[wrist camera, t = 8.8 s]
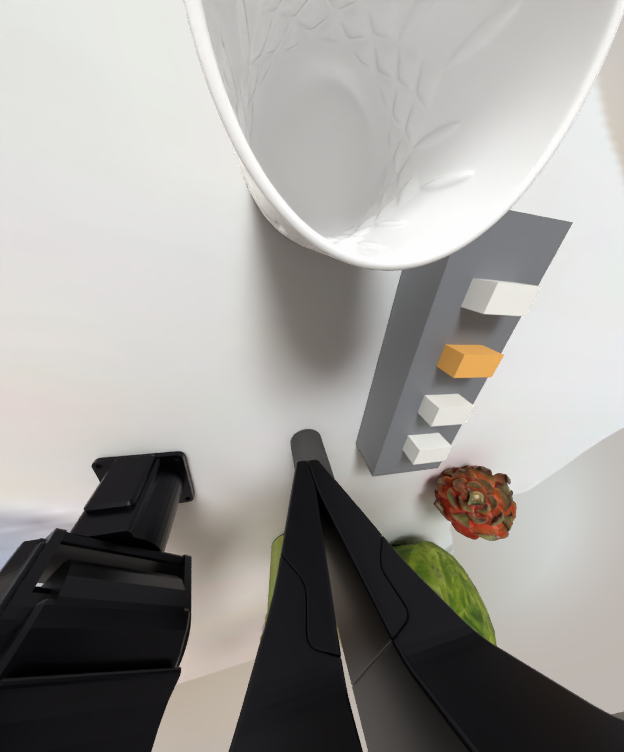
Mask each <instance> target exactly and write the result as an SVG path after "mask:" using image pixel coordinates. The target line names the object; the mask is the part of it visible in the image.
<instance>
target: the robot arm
mask: <svg viewBox="0 0 624 752" xmlns="http://www.w3.org/2000/svg"><path fill="white" fill-rule="evenodd" d="M177 457H178V458H177ZM92 468H93V470H94V472H95V474H96V475H97V477H98V479H99V481H100V484H99V485H98V487H97V488H96V490H95V491H94V493H93V495H92V496H91V498H90V499H89V501H88V502H87V504H86V505H85V507H84V512H83V513H82V515H81V516H80V518H79V519H78V521H77V522H76V524H75V526H74V527H73V529H72V530H71V532H70V533H68V532H67V530H64V529H59V528H56V529H55V530H54V531H53V532H52V533H51V534H50V535H49V536H48V537H47V538H45V539H43V538H40V539H38V540H31V541H25V542H23V543H22V544H21V545H20V546H19V547H18V548H17V550H16V551H15V552H14V553H13V555H12V556H11V557H10V559H9V560H8V561H7V562H6V564H5V565H4V566H3V568H2V569H1V570H0V752H151V751H152V747H153V744H154V741H155V737H156V734H157V731H158V728H159V725H160V722H161V719H162V717H163V714H164V711H165V708H166V705H167V703H168V700H169V698H170V696H171V694H172V692H173V690H174V687H175V685H176V683H177V681H178V679H179V676H180V673H181V667H179V665H180V663H181V660H182V658H183V655H184V652H185V649H186V645H187V641H188V637H189V632H190V626H191V556H188V555H183V556H180V555H176V554H171V553H166V552H164V551H165V548H166V544H167V541H168V538H169V534H170V531H171V528H172V524H173V521H174V517H175V514H176V511H177V507H178V504H179V503H183V502H190V501H192V500H193V498H194V491H193V487H192V483H191V479H190V475H189V471H188V467H187V463H186V459H185V455H184V453H182V452H165V453H153V454H142V455H130V456H118V457H106V458H98V459H96V460H95V461H94V462H93V464H92ZM37 583H44V584H43V585H42V587H36V584H37ZM336 624H337V625H336ZM337 628H338V632H339V636H340V640H341V644H342V648H343V652H344V655H345V660H346V664H347V668H348V672H349V676H350V680H351V684H352V685H353V686H352V688H353V692H354V696H355V700H356V704H357V708H358V712H359V716H360V720H361V724H362V728H363V732H364V736H365V740H366V744H367V748H368V752H624V712H621V713H616V714H609V713H607V712H605V711H603V710H601V709H599V708H598V707H596V706H594V705H592V704H590V703H589V702H587V701H586V700H584V699H582V698H581V697H579V696H577V695H576V694H574V693H573V692H571V691H569V690H568V689H566V688H564V687H563V686H561V685H559V684H558V683H556V682H554V681H553V680H551V679H550V678H548V677H546V676H544V675H543V674H541V673H540V672H538V671H536V670H535V669H533V668H531V667H530V666H528V665H526V664H525V663H523V662H522V661H520V660H518V659H517V658H515V657H513V656H512V655H510V654H508V653H507V652H505V651H503V650H502V649H500V648H498V647H497V646H495V645H494V644H492V643H491V642H489V641H488V640H487V639H485V638H484V637H483V636H481V635H480V634H479V633H478V632H476V631H475V630H474V629H473V628H472V627H470V626H469V625H468V624H467V623H466V622H465V621H464V620H463V619H462V618H461V617H460V616H459V615H458V614H457V613H456V612H455V611H454V610H453V609H452V608H451V607H450V606H449V605H448V604H447V603H446V602H445V601H444V600H443V599H442V598H441V597H440V596H439V595H438V594H437V593H436V592H435V591H434V590H433V589H432V588H431V587H430V586H429V585H428V584H427V583H426V582H425V581H424V580H423V579H422V578H421V577H420V576H419V575H418V574H417V573H416V572H415V571H414V570H413V569H412V568H411V567H410V566H409V565H408V564H407V563H406V562H405V561H404V560H403V558H402V557H401V556H400V555H399V554H398V553H397V552H396V551H395V549H394V548H393V547H392V546H391V545H390V544H389V542H388V541H387V540H386V539H385V538H384V537H383V536H382V535H381V533H380V532H379V531H378V530H377V528H376V527H375V526H374V525H373V524H372V523H371V521H370V520H369V519H368V518H367V517H366V515H365V514H364V513H363V512H362V511H361V510H360V508H359V507H358V506H357V505H356V504H355V503H354V501H353V500H352V499H351V498H350V497H349V495H348V494H347V493H346V492H345V491H344V490H343V488H342V487H341V486H340V485H339V484H338V482H337V481H336V480H335V479H334V478H333V477H332V475H331V474H330V473H329V472H328V471H327V470H326V468H325V467H324V466H323V465H322V464H321V462H320V461H319V460H318V459H309V460H298V461H297V462H296V467H295V473H294V479H293V485H292V490H291V496H290V502H289V508H288V514H287V520H286V526H285V531H284V537H283V543H282V549H281V556H280V560H279V566H278V572H277V577H276V582H275V587H274V592H273V596H272V600H271V604H270V608H269V612H268V616H267V620H266V623H265V627H264V630H263V634H262V638H261V641H260V645H259V648H258V652H257V656H256V659H255V663H254V666H253V670H252V673H251V677H250V681H249V684H248V688H247V691H246V695H245V698H244V702H243V706H242V709H241V712H240V716H239V719H238V723H237V726H236V730H235V733H234V736H233V739H232V743H231V746H230V749H229V752H363V751H362V747H361V743H360V740H359V736H358V732H357V728H356V725H355V721H354V717H353V713H352V709H351V706H350V702H349V698H348V693H347V688H346V683H345V677H344V672H343V666H342V660H341V658H340V657H341V652H340V645H339V639H338V632H337Z"/></svg>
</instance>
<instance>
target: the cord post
mask: <svg viewBox="0 0 624 752" xmlns="http://www.w3.org/2000/svg"><path fill="white" fill-rule="evenodd" d="M291 449H292V455H293V461H294V467H296V462H297V461H298V460H309V459H318V460H319V461H320V462H321V464H322V465H323V466H324V467H325V468H326V470H327V471H328V472H329V473H330V474H331V475H332V477H333V478H334V476H333V473H332V470H331V467H330V463H329V460H328V457H327V454H326V451H325V448H324V445H323V442H322V439H321V436H320V434H319V433H318V432H317V431H315V430H312V429H305V430H301V431H299V432H297V433H296V434H295V435H294V436H293V437H292V439H291Z"/></svg>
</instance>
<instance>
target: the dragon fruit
mask: <svg viewBox="0 0 624 752" xmlns="http://www.w3.org/2000/svg"><path fill="white" fill-rule="evenodd" d="M507 483H508V484H510V483H511V481H510V478H509V477H508V476H507V475H506V474H502V473H497V474H495V475H494V476H493V475H492V472H491V470H490V469H487V468H485V467H483V466H468V465H467V466H465V467H464V468H462V469H461V468H451V469H449V470H446V471H443V472H442V474H441V477H440V478H439V479H438V480H437V491H436V489H435V497H436V500H435V502H434V505H435V506H436V507H437V509H438V510H439V511H440V512H441V513H442V515H443V516H444V517H445V518H446V519H447V520H448V521H450V522H451V523H452V525H453V527H454V528H455V530H456V531H457V532H459V533H461V534H462V535H464V536H466V537H468V538H471V539H477V538H479V537H481V538H484V539H486V540H489V541H492V540H493V541H494V540H498V539H503V538H506V537H508V535H509V533H508V531H509V530H510V528H511V526H512V524H513V520H514V519H515V518H516V503H515V502H514V501H513V499H512V495H513V491H512V490H511V491H510V489H509V487H508V484H507Z"/></svg>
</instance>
